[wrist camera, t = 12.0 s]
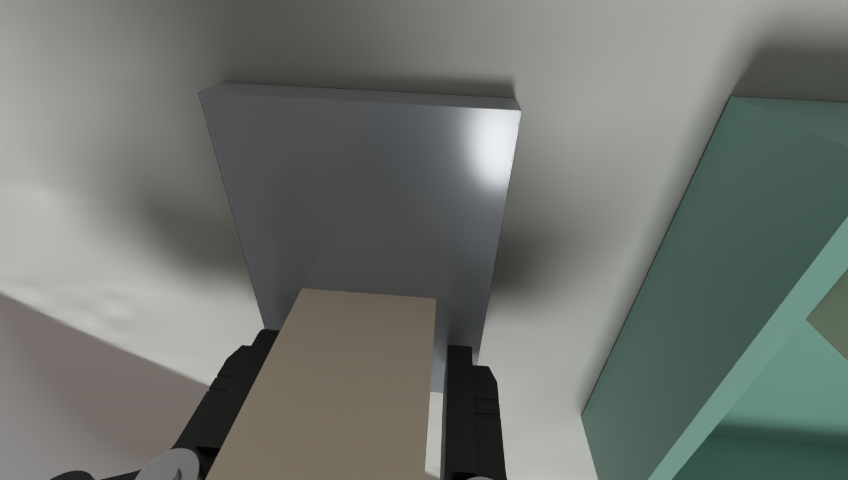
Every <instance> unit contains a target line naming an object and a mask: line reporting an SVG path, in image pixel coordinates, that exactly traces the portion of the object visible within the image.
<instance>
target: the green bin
mask: <svg viewBox="0 0 848 480" xmlns="http://www.w3.org/2000/svg"><path fill="white" fill-rule="evenodd" d="M847 269H848V103H845V102H826V101H808V100H789V99H771V98H752V97H734V96H731V97H730V99H729V101H728V103H727V105H726V108H725V110H724V112H723V114H722V116H721V118H720V120H719V123H718V125H717V127H716V129H715V131H714V133H713V135H712V138H711V140H710V142H709V144H708V146H707V148H706V150H705V153H704V155H703V157H702V159H701V161H700V163H699V165H698V168H697V170H696V172H695V174H694V176H693V178H692V180H691V183H690V185H689V187H688V189H687V191H686V193H685V195H684V198H683V200H682V202H681V204H680V206H679V208H678V210H677V213H676V215H675V217H674V219H673V221H672V223H671V225H670V228H669V230H668V232H667V234H666V236H665V238H664V240H663V243H662V245H661V247H660V249H659V251H658V253H657V255H656V258H655V260H654V262H653V264H652V266H651V268H650V270H649V273H648V275H647V277H646V279H645V281H644V283H643V285H642V288H641V290H640V292H639V294H638V296H637V298H636V300H635V303H634V305H633V307H632V309H631V311H630V313H629V315H628V318H627V320H626V322H625V324H624V326H623V328H622V330H621V333H620V335H619V337H618V339H617V341H616V343H615V345H614V348H613V350H612V352H611V354H610V356H609V358H608V361H607V363H606V365H605V367H604V369H603V371H602V373H601V376H600V378H599V380H598V382H597V384H596V386H595V388H594V391H593V393H592V395H591V397H590V399H589V401H588V403H587V406H586V408H585V410H584V412H583V414H582V416H581V419H582V423H583V426H584V430H585V434H586V437H587V441H588V444H589V448H590V452H591V455H592V459H593V462H594V466H595V469H596V473H597V477H598V480H848V361H847V360H846V359H845V358H844V357H843V356H842V355H841V354H840V353H839V352H838V351H837V350H836V349H835V348H834V347H833V346H832V345H831V344H830V343H829V342H828V341H827V340H826V339H825V338H824V337H823V336H822V335H821V334H820V333H819V332H818V331H817V330H816V329H814V328H813V327H812V326H811V325H810V324H809V323H808V322H807V321H806V318H807V317H808V316H809V315H810V314H811V312H812V311H813V310H814V309H815V308H816V307H817V305H818V304H819V303H820V302H821V301H822V299H823V298H824V297H825V296H826V295H827V293H828V292H829V291H830V290H831V289H832V287H833V286H834V285H835V284H836V283H837V281H838V280H839V279H840V278H841V277H842V275H843V274H844V273H845V272H846V271H847Z"/></svg>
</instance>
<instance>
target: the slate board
mask: <svg viewBox="0 0 848 480" xmlns="http://www.w3.org/2000/svg"><path fill="white" fill-rule="evenodd" d="M198 94H199V97H200V101H201V104H202V108H203V111H204V115H205V119H206V122H207V126H208V129H209V133H210V136H211V140H212V143H213V147H214V150H215V154H216V157H217V161H218V165H219V168H220V172H221V175H222V179H223V182H224V186H225V189H226V193H227V196H228V200H229V204H230V207H231V211H232V214H233V218H234V221H235V225H236V228H237V232H238V235H239V239H240V242H241V246H242V250H243V253H244V257H245V260H246V264H247V267H248V271H249V274H250V278H251V281H252V285H253V288H254V292H255V296H256V299H257V303H258V306H259V310H260V313H261V317H262V320H263V324H264V327H265V329H271V330H281V329H282V327H283V325H284V323H285V321H286V319H287V317H288V315H289V313H290V311H291V309H292V307H293V305H294V303H295V301H296V299H297V297H298V295H299V293H300V291H301V289H302V288H305V289H318V290H331V291H344V292H357V293H370V294H383V295H396V296H409V297H422V298H435V299H436V313H435V327H434V342H433V357H432V371H431V386H430V392H439V393H443V388H444V375H445V365H446V355H447V346H448V345H460V346H471V347H472V361H473V365H477V362H478V357H479V351H480V345H481V340H482V334H483V328H484V322H485V317H486V311H487V305H488V300H489V294H490V288H491V282H492V277H493V271H494V265H495V260H496V254H497V248H498V243H499V237H500V231H501V225H502V220H503V214H504V208H505V203H506V197H507V191H508V186H509V180H510V174H511V168H512V163H513V157H514V151H515V146H516V140H517V134H518V129H519V123H520V117H521V111H522V110H521V108H520V106H519V104H518V102H517V100H516V98H498V97H480V96H462V95H444V94H426V93H408V92H390V91H372V90H354V89H336V88H318V87H300V86H282V85H263V84H245V83H227V82H221V83H218V84H216V85H214V86H212V87H209V88H207V89H205V90H202V91H200V92H198Z"/></svg>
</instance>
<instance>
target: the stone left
mask: <svg viewBox="0 0 848 480" xmlns="http://www.w3.org/2000/svg"><path fill="white" fill-rule="evenodd" d="M435 313H436V299H435V298H422V297H409V296H396V295H383V294H370V293H357V292H344V291H331V290H318V289H305V288H302V289H301V291H300V293H299V295H298V297H297V299H296V301H295V303H294V305H293V307H292V309H291V311H290V313H289V315H288V317H287V319H286V321H285V323H284V325H283V327H282V329H281V331H280V332H279V334H278V336H277V338H276V340H275V342H274V344H273V346H272V348H271V350H270V352H269V354H268V356H267V358H266V360H265V362H264V364H263V366H262V368H261V370H260V372H259V374H258V376H257V378H256V380H255V382H254V384H253V386H252V388H251V390H250V392H249V394H248V396H247V398H246V400H245V402H244V404H243V406H242V408H241V410H240V412H239V414H238V416H237V418H236V420H235V422H234V424H233V426H232V428H231V430H230V432H229V434H228V435H227V437H226V439H225V441H224V443H223V445H222V447H221V449H220V451H219V453H218V455H217V457H216V459H215V461H214V463H213V465H212V467H211V469H210V471H209V473H208V475H207V477H206V479H205V480H424V473H425V458H426V444H427V429H428V415H429V400H430V386H431V371H432V357H433V342H434V327H435Z"/></svg>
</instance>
